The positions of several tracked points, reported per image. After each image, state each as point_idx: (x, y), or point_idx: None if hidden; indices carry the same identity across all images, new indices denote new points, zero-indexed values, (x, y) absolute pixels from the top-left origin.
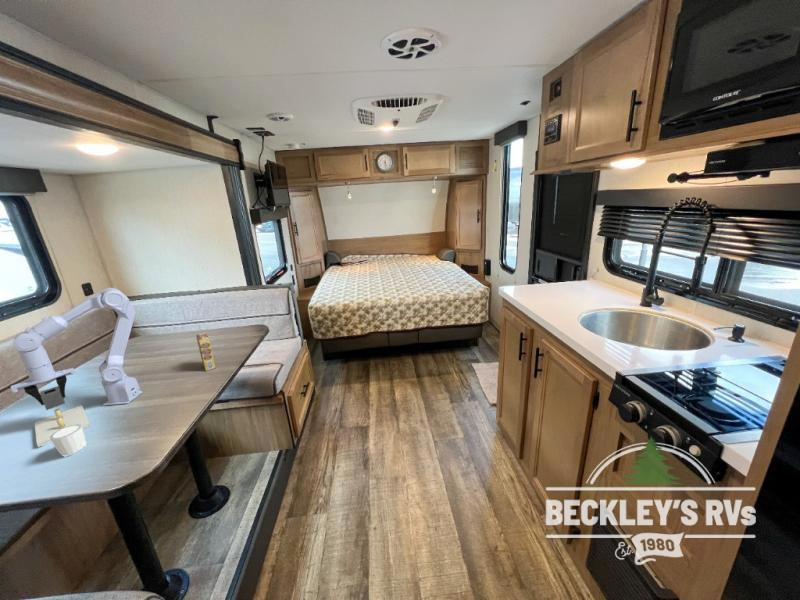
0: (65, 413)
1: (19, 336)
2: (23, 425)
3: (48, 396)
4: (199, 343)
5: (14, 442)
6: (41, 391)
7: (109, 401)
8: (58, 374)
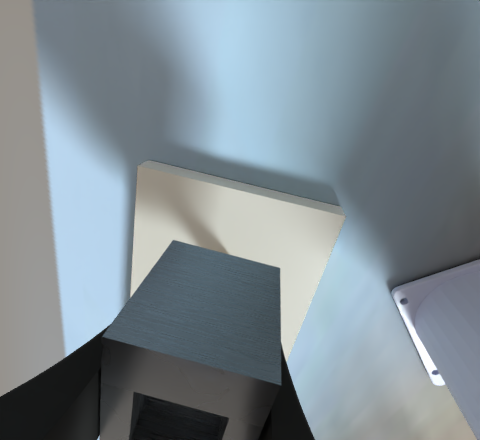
0: (256, 231)
1: None
2: (103, 58)
3: None
4: None
5: (75, 232)
6: (112, 343)
7: (420, 319)
8: None
